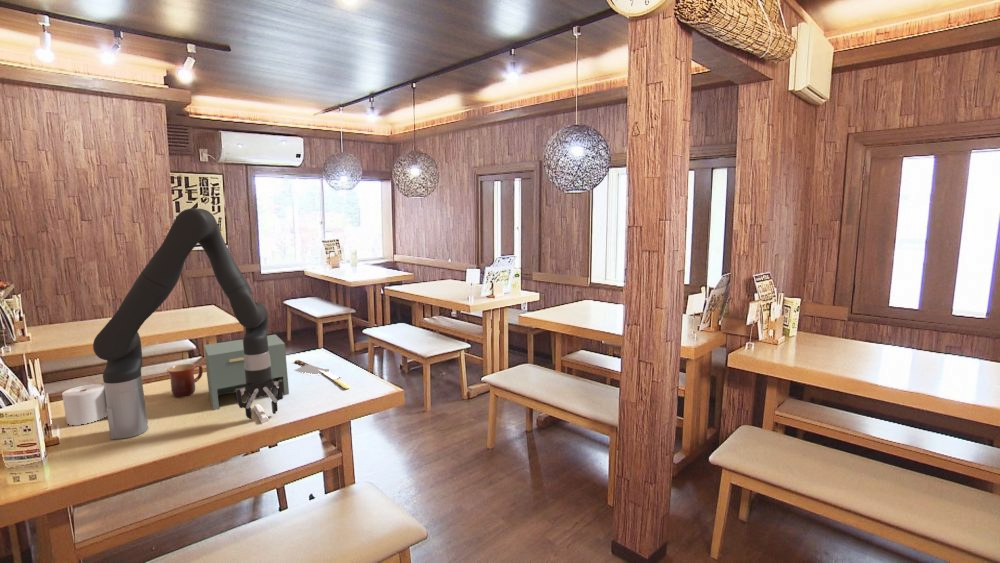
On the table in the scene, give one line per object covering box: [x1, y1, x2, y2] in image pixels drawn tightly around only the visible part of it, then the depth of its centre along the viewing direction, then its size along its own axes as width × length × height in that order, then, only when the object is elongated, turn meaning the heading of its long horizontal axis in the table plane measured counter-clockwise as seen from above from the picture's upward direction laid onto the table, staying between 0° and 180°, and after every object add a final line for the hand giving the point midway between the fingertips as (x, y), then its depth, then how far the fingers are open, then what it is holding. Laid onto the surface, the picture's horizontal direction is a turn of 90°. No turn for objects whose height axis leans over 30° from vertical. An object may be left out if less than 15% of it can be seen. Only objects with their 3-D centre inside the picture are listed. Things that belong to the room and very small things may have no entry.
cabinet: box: [203, 333, 290, 411], centre depth 183 cm, size 24×16×19 cm
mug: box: [166, 363, 204, 398], centre depth 187 cm, size 12×9×10 cm
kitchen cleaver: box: [294, 359, 330, 375], centre depth 214 cm, size 24×1×10 cm
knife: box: [318, 369, 351, 390], centre depth 202 cm, size 1×34×5 cm
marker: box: [253, 403, 270, 424], centre depth 167 cm, size 3×2×16 cm
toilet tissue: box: [61, 383, 108, 426], centre depth 166 cm, size 11×12×10 cm
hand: (262, 415), depth 164 cm, fingers open, 6 cm apart
